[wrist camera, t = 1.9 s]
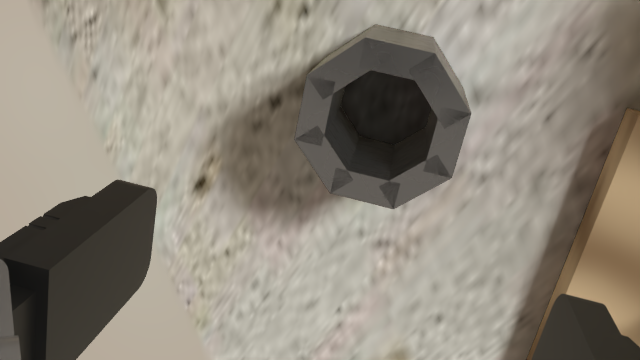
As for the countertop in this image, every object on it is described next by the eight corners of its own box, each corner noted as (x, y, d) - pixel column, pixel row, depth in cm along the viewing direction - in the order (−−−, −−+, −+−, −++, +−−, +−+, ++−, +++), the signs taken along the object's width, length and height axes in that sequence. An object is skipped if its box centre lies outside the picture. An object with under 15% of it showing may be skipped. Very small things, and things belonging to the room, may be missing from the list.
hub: (335, 15, 26) (316, 26, 22) (474, 46, 26) (486, 64, 21) (308, 146, 29) (285, 182, 24) (436, 178, 28) (438, 220, 23)
